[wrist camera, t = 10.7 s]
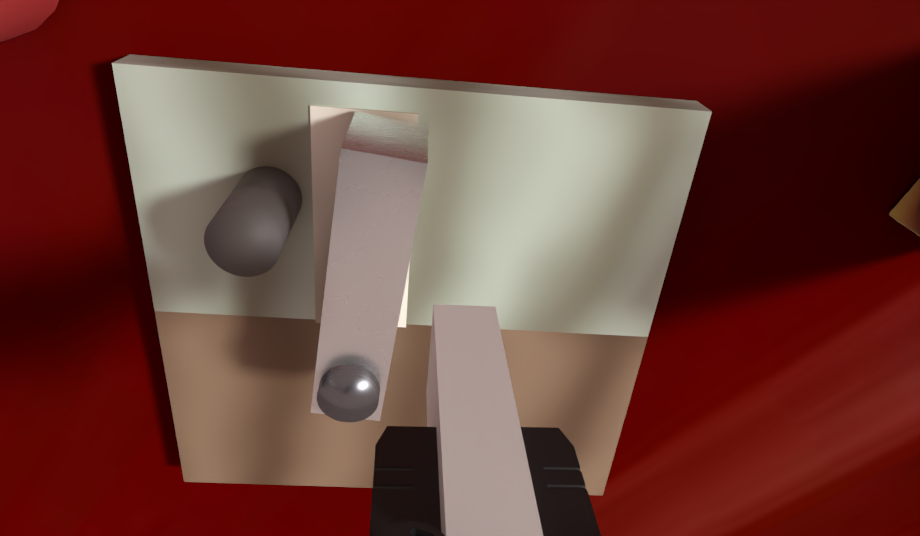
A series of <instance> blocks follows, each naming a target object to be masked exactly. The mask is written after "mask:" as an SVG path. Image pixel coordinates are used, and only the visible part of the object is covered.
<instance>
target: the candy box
mask: <svg viewBox="0 0 920 536" xmlns="http://www.w3.org/2000/svg"><path fill="white" fill-rule="evenodd" d="M889 215H890V216H891V217H892V218H894V219H895V220H896V221H897V222H899V223H900V224H902V225H903V226H905V227H906V228H908V229H909V230H911V231H912V232H914V233H915V234H917V235H918V236H920V178H919V179H918V180H917V182H916V183H915V184H914V185H913V186H912V188H911V189H910V190H909V191H908V192H907V193H906V194H905V195H904V196H903V198H902V199H901V200H900V201H899V202H898V204H897V205H896V206H895V207H894V208H893V209H892V210H891V211H890V213H889Z"/></svg>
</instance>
